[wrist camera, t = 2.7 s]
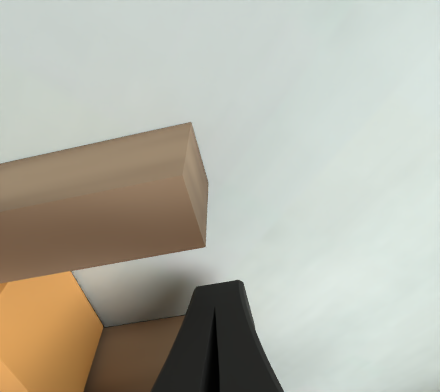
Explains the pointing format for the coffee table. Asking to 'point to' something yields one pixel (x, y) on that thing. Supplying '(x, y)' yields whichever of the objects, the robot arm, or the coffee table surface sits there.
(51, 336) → the block
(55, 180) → the walnut chute
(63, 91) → the coffee table surface
